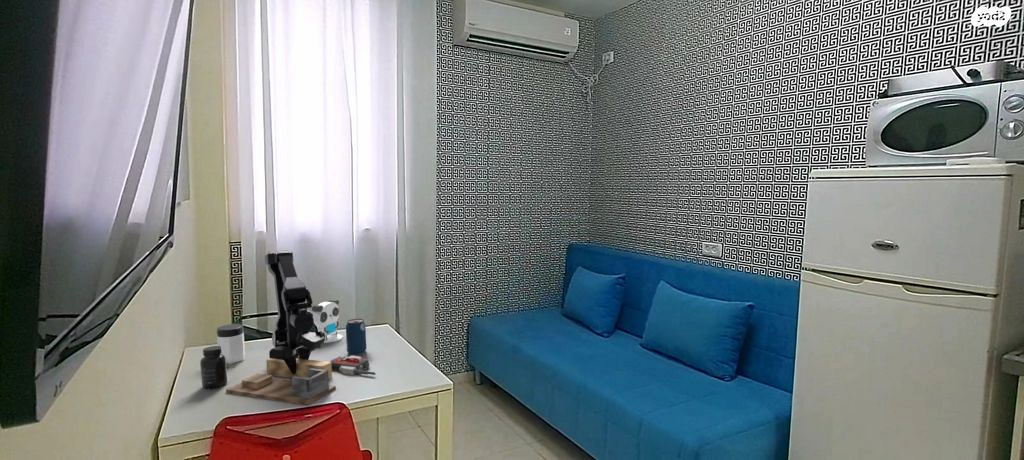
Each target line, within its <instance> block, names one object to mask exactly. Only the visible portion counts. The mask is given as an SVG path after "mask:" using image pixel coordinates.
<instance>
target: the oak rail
mask: <svg viewBox="0 0 1024 460" xmlns="http://www.w3.org/2000/svg"><path fill="white" fill-rule="evenodd" d="M265 363H266V375H273V376H277V377H286V378H292V377H294V376H298V377H305V378H309V369H311V368H314V369H322V370H328V375H329V379H330V378H332V377H333V370H332V365H331V362H330V361H326V360H325V361H323V360H314V359H308V360H307V359H297V358H296V374H292V373H291V371H290V369H289V368H288V366H287V364H286V363H285V362H284V360H281V359H273V358H268V359H266V361H265Z"/></svg>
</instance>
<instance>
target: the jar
mask: <svg viewBox="0 0 1024 460" xmlns="http://www.w3.org/2000/svg"><path fill="white" fill-rule="evenodd" d="M216 334H217V335H216V336H217V337H216V339H217V340H216V341H217V342H216V343H217V346H220V347H221V351H222V353H221V354H222V355H224V356H225V358H226V365H228V364H230V365H231V364H234V363H238V362H242V361H244V360H245V357H246V351H245V349H246V348H245V334H244V325H243V324H240V323H230V324H224V325H221V326H219V327H217V328H216Z"/></svg>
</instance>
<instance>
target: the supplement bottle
mask: <svg viewBox="0 0 1024 460" xmlns="http://www.w3.org/2000/svg"><path fill="white" fill-rule="evenodd" d="M221 353H222V351H221V347H220V346H218V345H211V346H207V347H205V348H203V349H202V356H203V357H202V358H201V359H200V361H199V365H200V367H199V368H200V376H201V378H200V379H201V387H202V389H204V390H208V389H210V390H218V389H220V388H222V387H224V386H226V385H227V384H228V373H227V372H228V371H227V370H228V369H227V364H226V358H225V356H224V355H222V354H221Z"/></svg>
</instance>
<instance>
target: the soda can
mask: <svg viewBox="0 0 1024 460" xmlns="http://www.w3.org/2000/svg"><path fill="white" fill-rule="evenodd" d="M364 320H365V319H362V318H352V319H349V320H347V322H346V325H345V338H346V339H345V341H346V344H345V345H346V352H347V353H348V354H349V356H360V355H363V354H365V352H366V351H367V330H366V329H367V328H366V323H365V321H364Z"/></svg>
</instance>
